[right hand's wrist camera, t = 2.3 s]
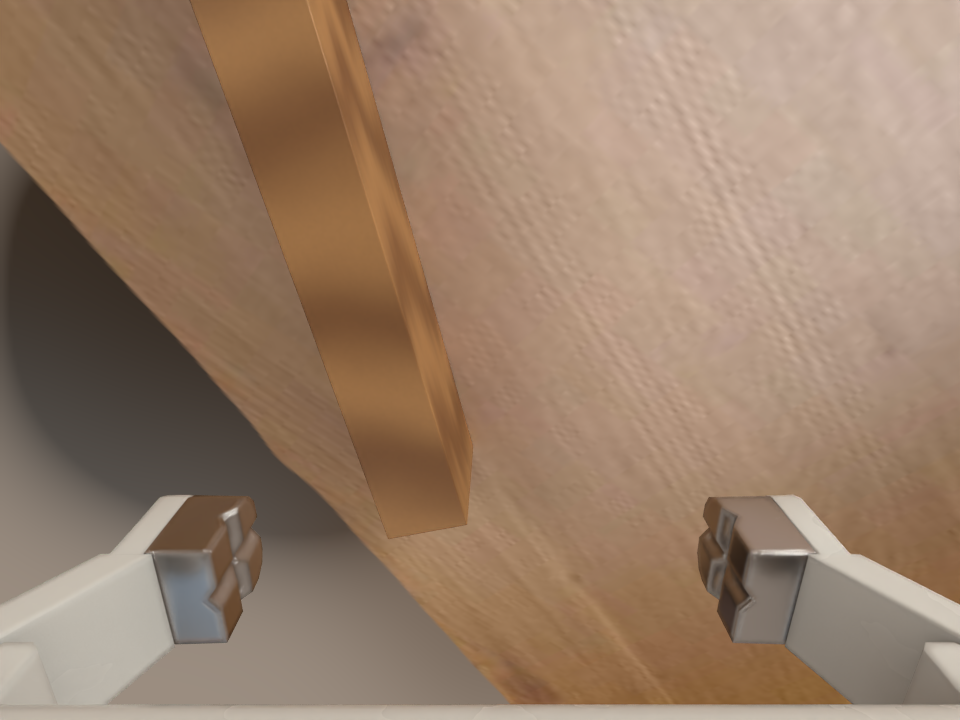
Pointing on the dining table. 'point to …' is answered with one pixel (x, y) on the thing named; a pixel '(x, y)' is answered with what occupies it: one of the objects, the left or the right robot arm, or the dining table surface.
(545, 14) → the dining table surface
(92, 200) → the dining table surface
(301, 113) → the beam
